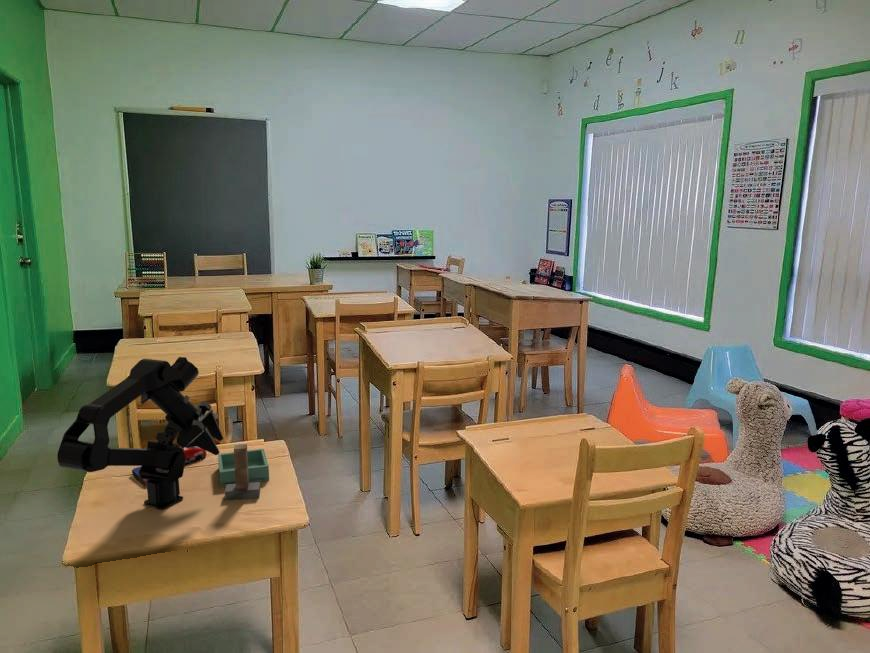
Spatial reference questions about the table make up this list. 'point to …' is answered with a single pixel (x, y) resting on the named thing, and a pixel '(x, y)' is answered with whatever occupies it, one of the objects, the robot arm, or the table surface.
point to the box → (256, 467)
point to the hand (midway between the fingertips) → (220, 446)
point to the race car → (194, 454)
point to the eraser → (136, 475)
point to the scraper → (241, 478)
